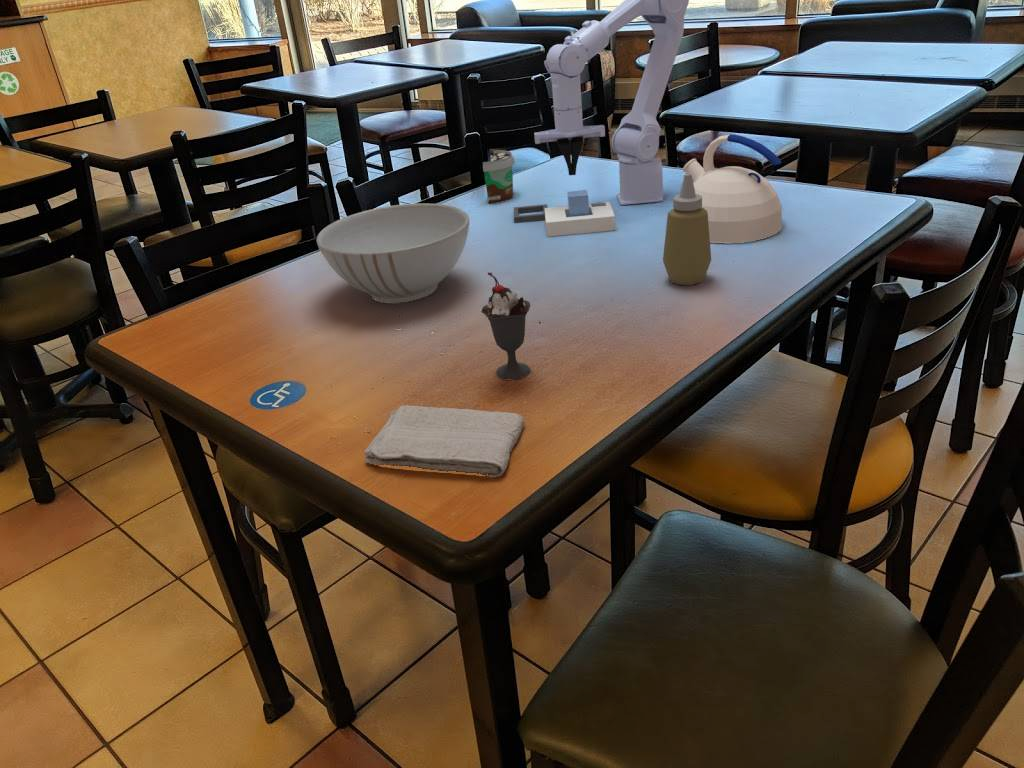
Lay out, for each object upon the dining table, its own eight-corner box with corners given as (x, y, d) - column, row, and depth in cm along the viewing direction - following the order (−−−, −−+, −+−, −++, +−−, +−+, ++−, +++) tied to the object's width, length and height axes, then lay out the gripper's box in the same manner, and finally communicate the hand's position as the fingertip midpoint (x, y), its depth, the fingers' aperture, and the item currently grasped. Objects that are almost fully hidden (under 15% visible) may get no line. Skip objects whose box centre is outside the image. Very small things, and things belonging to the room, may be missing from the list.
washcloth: (397, 419, 104) (393, 399, 103) (528, 426, 100) (526, 405, 98) (361, 472, 94) (356, 451, 93) (505, 482, 90) (502, 460, 88)
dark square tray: (547, 209, 177) (547, 204, 177) (548, 219, 171) (548, 214, 170) (514, 212, 178) (513, 207, 177) (514, 222, 171) (513, 217, 170)
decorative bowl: (356, 335, 128) (341, 266, 122) (314, 287, 149) (299, 225, 143) (502, 293, 137) (494, 226, 131) (442, 253, 159) (434, 194, 153)
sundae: (488, 364, 114) (476, 267, 107) (533, 358, 115) (524, 261, 107) (491, 386, 109) (478, 285, 101) (539, 379, 109) (529, 279, 101)
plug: (588, 222, 167) (586, 189, 163) (589, 228, 163) (588, 195, 160) (569, 224, 167) (567, 191, 163) (570, 230, 163) (568, 197, 160)
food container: (512, 204, 183) (508, 161, 178) (487, 205, 185) (482, 162, 180) (522, 189, 194) (518, 148, 189) (498, 190, 195) (493, 149, 190)
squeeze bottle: (713, 271, 136) (716, 167, 128) (707, 289, 130) (710, 181, 121) (666, 269, 139) (666, 168, 130) (659, 287, 133) (658, 182, 124)
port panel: (610, 215, 169) (609, 201, 167) (615, 230, 160) (614, 215, 159) (545, 221, 170) (544, 207, 168) (547, 236, 161) (545, 221, 159)
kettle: (711, 206, 168) (714, 119, 160) (802, 220, 155) (810, 126, 146) (654, 233, 157) (654, 141, 148) (747, 252, 143) (752, 152, 134)
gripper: (533, 115, 157) (539, 182, 163) (605, 107, 156) (608, 175, 163) (531, 108, 163) (537, 173, 169) (601, 101, 162) (604, 166, 169)
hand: (572, 174), depth 167 cm, fingers closed
